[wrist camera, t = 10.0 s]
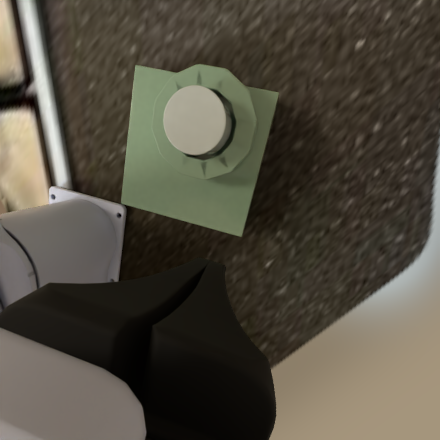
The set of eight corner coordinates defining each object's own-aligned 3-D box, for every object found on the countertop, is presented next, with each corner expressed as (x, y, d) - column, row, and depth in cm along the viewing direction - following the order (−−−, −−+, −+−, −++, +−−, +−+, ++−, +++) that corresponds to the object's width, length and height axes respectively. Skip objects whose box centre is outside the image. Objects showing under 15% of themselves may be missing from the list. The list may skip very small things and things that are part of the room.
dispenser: (245, 226, 21) (237, 246, 17) (139, 197, 23) (104, 208, 18) (279, 98, 18) (281, 78, 14) (155, 74, 20) (118, 48, 15)
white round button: (224, 160, 16) (218, 161, 14) (172, 148, 16) (158, 147, 14) (237, 100, 15) (232, 91, 13) (181, 89, 15) (168, 78, 13)
